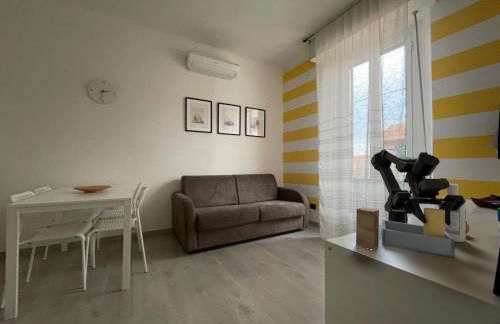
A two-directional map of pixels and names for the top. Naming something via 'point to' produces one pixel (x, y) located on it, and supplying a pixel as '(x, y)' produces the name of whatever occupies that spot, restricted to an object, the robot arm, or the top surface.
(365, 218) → the walnut block
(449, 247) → the tray
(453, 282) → the top surface
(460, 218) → the bath foam
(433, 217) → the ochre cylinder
